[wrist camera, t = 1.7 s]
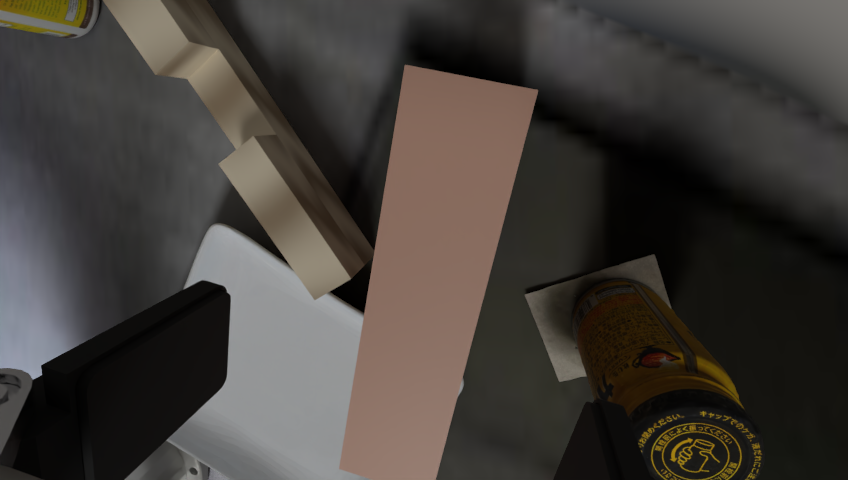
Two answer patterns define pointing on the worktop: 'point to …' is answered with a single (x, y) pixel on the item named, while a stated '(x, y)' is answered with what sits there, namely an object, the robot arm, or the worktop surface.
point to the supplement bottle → (50, 16)
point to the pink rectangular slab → (431, 266)
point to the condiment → (649, 372)
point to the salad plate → (274, 370)
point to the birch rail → (252, 139)
